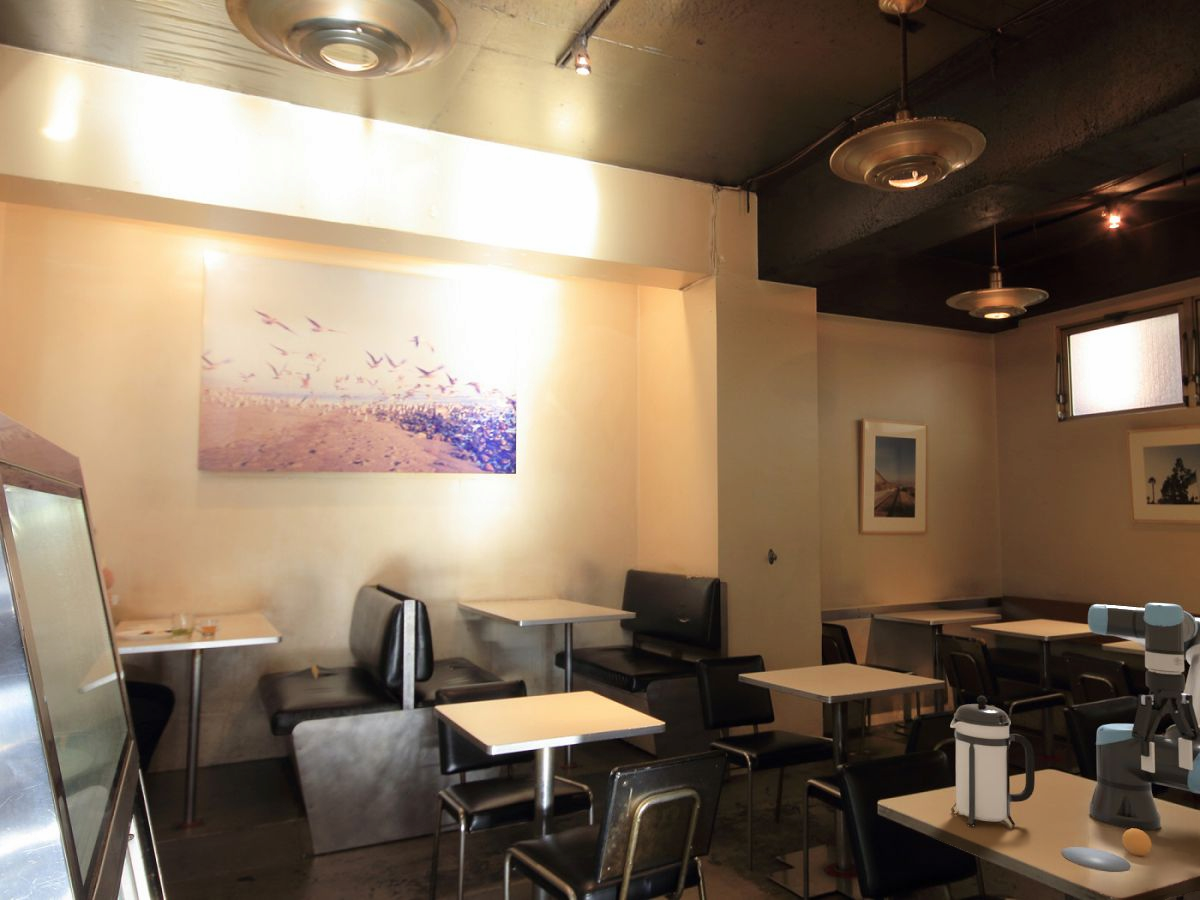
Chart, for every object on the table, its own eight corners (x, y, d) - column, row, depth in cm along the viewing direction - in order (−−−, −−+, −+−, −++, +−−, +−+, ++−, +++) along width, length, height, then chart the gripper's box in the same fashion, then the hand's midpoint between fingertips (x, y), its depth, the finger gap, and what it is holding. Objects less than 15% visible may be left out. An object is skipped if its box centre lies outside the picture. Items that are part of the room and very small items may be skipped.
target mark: (1093, 845, 192) (1093, 844, 192) (1145, 868, 180) (1145, 867, 180) (1047, 850, 188) (1047, 849, 188) (1098, 873, 176) (1098, 872, 176)
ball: (1135, 849, 191) (1134, 824, 191) (1158, 858, 186) (1157, 832, 186) (1116, 851, 189) (1116, 825, 190) (1139, 860, 184) (1138, 834, 185)
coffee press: (1003, 837, 195) (1002, 705, 198) (938, 817, 208) (938, 693, 210) (1036, 822, 206) (1035, 698, 209) (972, 804, 219) (972, 687, 221)
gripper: (1141, 675, 187) (1143, 777, 185) (1218, 673, 194) (1220, 771, 192) (1111, 669, 194) (1113, 767, 192) (1186, 667, 201) (1189, 762, 199)
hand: (1167, 769), depth 192 cm, fingers open, 11 cm apart
